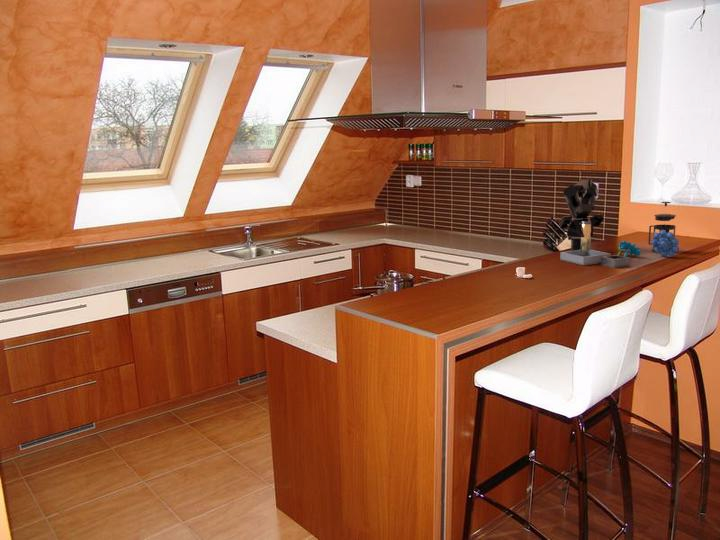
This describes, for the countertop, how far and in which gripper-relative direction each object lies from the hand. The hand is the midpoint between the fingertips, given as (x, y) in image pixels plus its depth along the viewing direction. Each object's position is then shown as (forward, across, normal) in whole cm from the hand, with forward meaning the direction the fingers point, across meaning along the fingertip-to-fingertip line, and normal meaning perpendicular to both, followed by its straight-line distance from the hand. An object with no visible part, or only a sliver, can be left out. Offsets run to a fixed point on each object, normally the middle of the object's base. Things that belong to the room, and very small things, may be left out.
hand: (587, 236), depth 265 cm
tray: (+7, 0, +9) cm, 11 cm away
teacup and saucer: (+24, -40, -8) cm, 47 cm away
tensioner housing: (+16, +6, -1) cm, 17 cm away
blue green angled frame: (+5, +22, +11) cm, 25 cm away
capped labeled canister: (+4, 0, +6) cm, 7 cm away
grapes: (+10, +34, +6) cm, 36 cm away
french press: (+1, +42, +15) cm, 45 cm away
